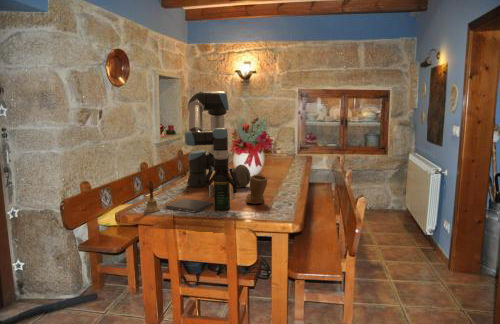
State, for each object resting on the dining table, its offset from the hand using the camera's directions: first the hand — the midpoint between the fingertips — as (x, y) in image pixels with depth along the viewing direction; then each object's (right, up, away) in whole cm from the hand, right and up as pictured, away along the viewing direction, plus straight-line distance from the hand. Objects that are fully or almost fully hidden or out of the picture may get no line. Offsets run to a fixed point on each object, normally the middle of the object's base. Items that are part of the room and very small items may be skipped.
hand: (222, 198), depth 201 cm
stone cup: (+18, -3, +13) cm, 23 cm away
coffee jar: (0, -6, +1) cm, 6 cm away
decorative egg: (+9, +2, +49) cm, 50 cm away
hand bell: (-37, -7, -1) cm, 37 cm away
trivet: (-18, -5, +5) cm, 19 cm away
